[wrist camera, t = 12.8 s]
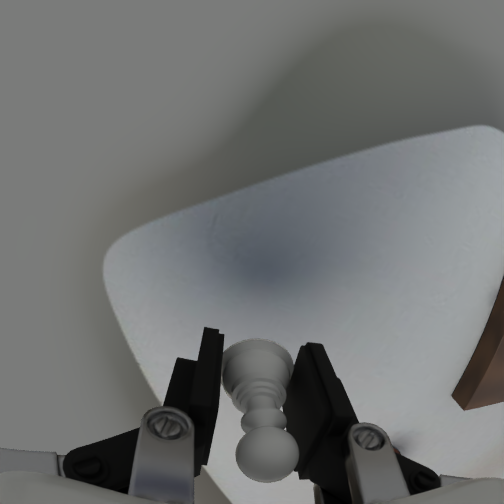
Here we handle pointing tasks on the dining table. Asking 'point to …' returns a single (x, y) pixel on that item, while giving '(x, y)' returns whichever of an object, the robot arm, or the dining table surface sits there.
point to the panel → (485, 364)
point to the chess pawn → (261, 407)
